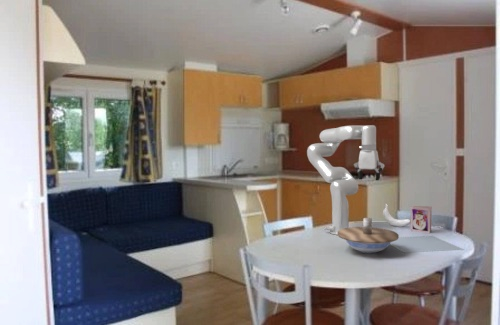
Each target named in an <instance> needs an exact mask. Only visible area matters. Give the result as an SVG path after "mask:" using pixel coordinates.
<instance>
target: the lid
mask: <svg viewBox="0 0 500 325" xmlns="http://www.w3.org/2000/svg"><path fill="white" fill-rule="evenodd" d="M362 221H363V222H362V224H363V226H352V227H351V226H350V227H349V228H344V229H341V230H339V231H338V235H337V236H338V237H339V238H340V239H343V240H345V241H346V240H348V241H353V242H360V243H388V242H393V241H396V240H397V239H398V238H399V237H400V236H399V233H398V232H395V231H393V230H390V229H387V228H382V227H374V226H373V218H372V217H364V218H363V220H362ZM372 226H373V227H372Z"/></svg>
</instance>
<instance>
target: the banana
mask: <svg viewBox="0 0 500 325" xmlns="http://www.w3.org/2000/svg"><path fill="white" fill-rule="evenodd" d="M382 217H383V218H384V220H385V221H386V222H387V224H389V225H391V226H393V227H398V228H399V227H400V228H401V227H405V226H408V225H411V219H406V218H405V219H396V218H394V217H393V216H392V215H391V214H390V211H389V205H388V204H387V202H385V208H384V209H383V211H382Z"/></svg>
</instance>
